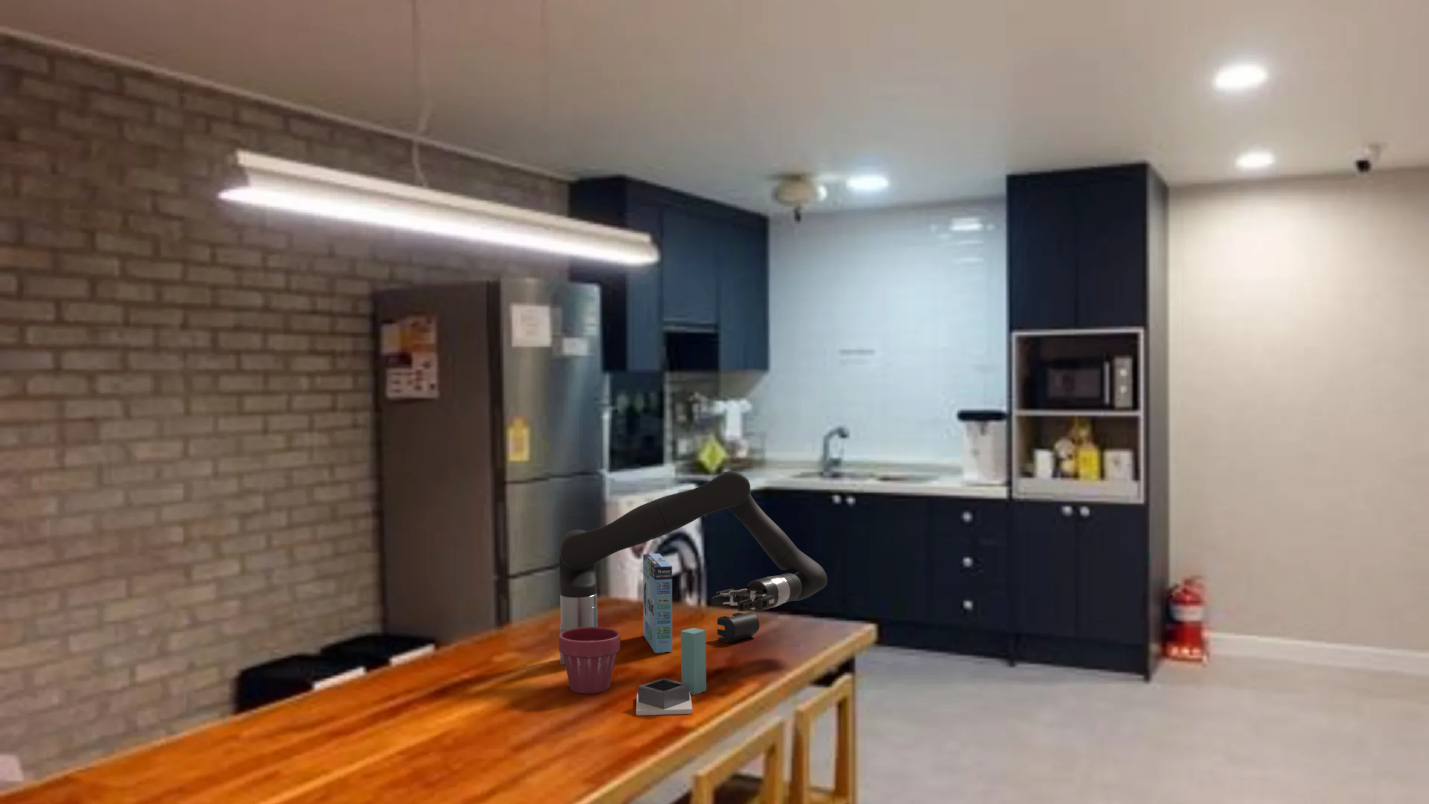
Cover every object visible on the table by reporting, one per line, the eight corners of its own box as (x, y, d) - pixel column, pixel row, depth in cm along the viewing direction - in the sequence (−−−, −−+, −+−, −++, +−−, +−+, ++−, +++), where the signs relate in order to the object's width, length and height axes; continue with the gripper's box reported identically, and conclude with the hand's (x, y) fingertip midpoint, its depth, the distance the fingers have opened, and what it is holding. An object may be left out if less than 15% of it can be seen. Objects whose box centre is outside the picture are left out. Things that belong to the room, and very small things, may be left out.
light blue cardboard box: (643, 635, 297) (642, 554, 296) (661, 634, 298) (660, 553, 298) (654, 654, 278) (653, 566, 277) (673, 652, 279) (672, 565, 279)
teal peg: (694, 694, 243) (693, 633, 243) (681, 691, 246) (680, 631, 245) (706, 690, 246) (705, 630, 246) (693, 687, 249) (692, 627, 248)
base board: (636, 715, 229) (636, 710, 229) (637, 698, 241) (637, 693, 241) (692, 713, 230) (692, 709, 230) (690, 696, 242) (690, 692, 242)
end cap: (735, 645, 286) (734, 620, 286) (716, 640, 292) (715, 615, 291) (760, 638, 294) (759, 613, 293) (741, 633, 299) (741, 609, 298)
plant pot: (631, 683, 253) (631, 629, 252) (601, 700, 240) (600, 643, 240) (580, 676, 259) (579, 623, 258) (547, 692, 246) (546, 637, 246)
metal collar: (664, 709, 230) (664, 693, 230) (638, 702, 235) (638, 686, 235) (689, 700, 236) (689, 684, 236) (663, 693, 241) (663, 678, 241)
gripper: (745, 574, 270) (702, 585, 258) (790, 581, 261) (747, 592, 249) (746, 603, 271) (703, 616, 258) (791, 611, 261) (748, 624, 249)
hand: (725, 604), depth 254 cm, fingers open, 8 cm apart
